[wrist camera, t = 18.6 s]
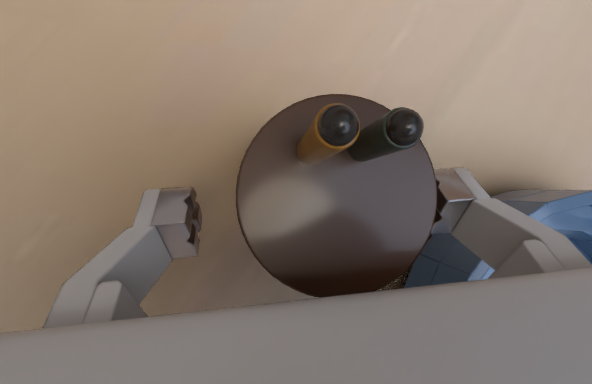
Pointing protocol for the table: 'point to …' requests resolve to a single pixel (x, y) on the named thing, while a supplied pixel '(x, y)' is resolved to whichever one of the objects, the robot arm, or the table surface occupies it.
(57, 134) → the table surface
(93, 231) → the table surface
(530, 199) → the bowl
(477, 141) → the table surface
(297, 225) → the pot
